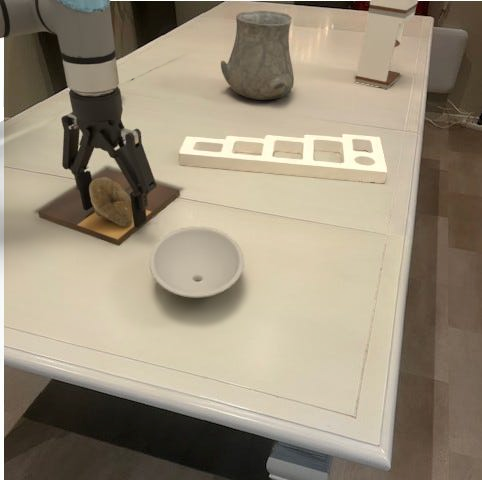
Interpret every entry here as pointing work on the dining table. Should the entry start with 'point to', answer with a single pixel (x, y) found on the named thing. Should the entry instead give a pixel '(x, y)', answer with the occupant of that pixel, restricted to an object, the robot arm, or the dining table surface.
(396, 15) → the white square pillar
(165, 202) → the board
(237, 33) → the vessel
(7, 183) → the dining table surface
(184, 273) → the dish
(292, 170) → the holder
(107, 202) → the fossil
